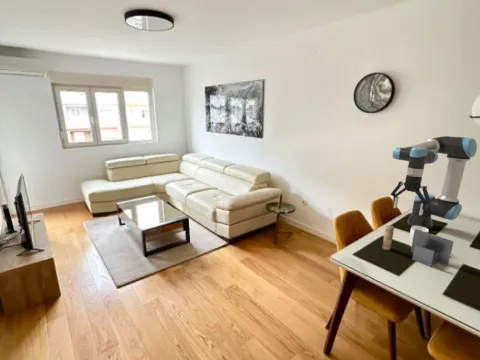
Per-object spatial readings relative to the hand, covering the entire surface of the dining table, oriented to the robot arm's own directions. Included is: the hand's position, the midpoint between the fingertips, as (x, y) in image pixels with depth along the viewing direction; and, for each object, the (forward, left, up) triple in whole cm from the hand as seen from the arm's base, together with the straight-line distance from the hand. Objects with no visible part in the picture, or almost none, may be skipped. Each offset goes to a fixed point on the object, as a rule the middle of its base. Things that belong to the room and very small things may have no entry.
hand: (407, 211), depth 151 cm
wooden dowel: (+7, -5, -24) cm, 26 cm away
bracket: (+3, +14, -24) cm, 28 cm away
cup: (-11, +4, -25) cm, 27 cm away
